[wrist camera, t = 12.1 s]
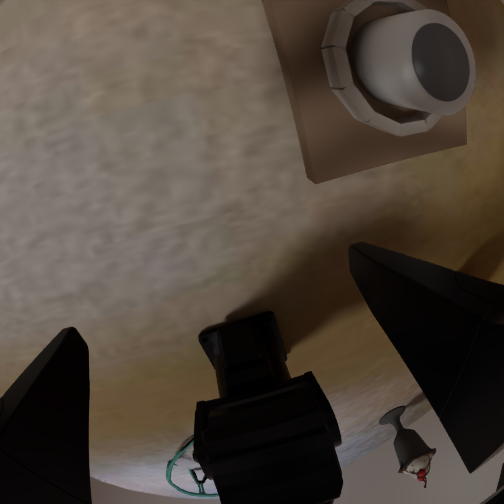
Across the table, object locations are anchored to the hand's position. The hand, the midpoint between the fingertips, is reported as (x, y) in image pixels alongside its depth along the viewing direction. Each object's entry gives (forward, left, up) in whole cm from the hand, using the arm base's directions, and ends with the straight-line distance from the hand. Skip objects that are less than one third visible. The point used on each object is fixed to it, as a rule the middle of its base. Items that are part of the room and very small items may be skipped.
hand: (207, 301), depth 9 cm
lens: (+5, -14, -10) cm, 18 cm away
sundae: (-44, -16, -12) cm, 48 cm away
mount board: (+5, -14, -12) cm, 19 cm away
